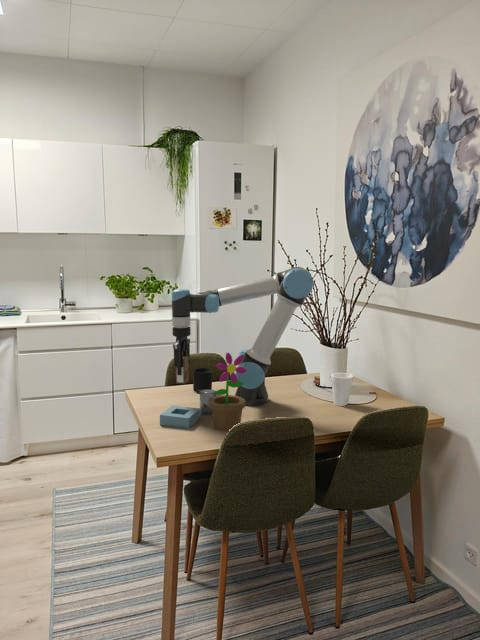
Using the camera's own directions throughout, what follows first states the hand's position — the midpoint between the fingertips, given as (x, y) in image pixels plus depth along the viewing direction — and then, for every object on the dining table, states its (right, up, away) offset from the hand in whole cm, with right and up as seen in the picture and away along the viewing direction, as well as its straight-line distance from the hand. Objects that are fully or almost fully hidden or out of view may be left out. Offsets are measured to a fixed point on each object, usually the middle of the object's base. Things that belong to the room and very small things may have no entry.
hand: (182, 380), depth 216 cm
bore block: (+1, -14, -15) cm, 21 cm away
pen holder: (+6, -8, +27) cm, 29 cm away
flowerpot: (+19, -15, -19) cm, 31 cm away
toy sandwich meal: (+68, -7, +40) cm, 79 cm away
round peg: (+11, -13, -5) cm, 18 cm away
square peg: (0, -1, 0) cm, 1 cm away
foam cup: (+69, -12, +10) cm, 71 cm away
